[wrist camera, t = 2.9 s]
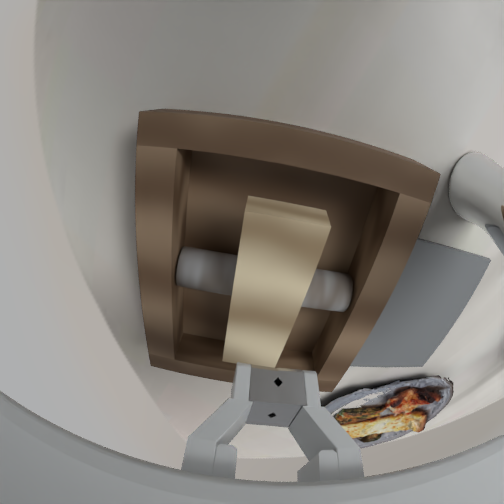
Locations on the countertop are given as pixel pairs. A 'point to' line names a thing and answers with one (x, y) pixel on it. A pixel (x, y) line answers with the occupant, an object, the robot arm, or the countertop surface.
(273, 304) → the maple bar
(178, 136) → the pocket board
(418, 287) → the rubber mat
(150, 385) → the countertop surface
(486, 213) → the drinking glass
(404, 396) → the food plate
